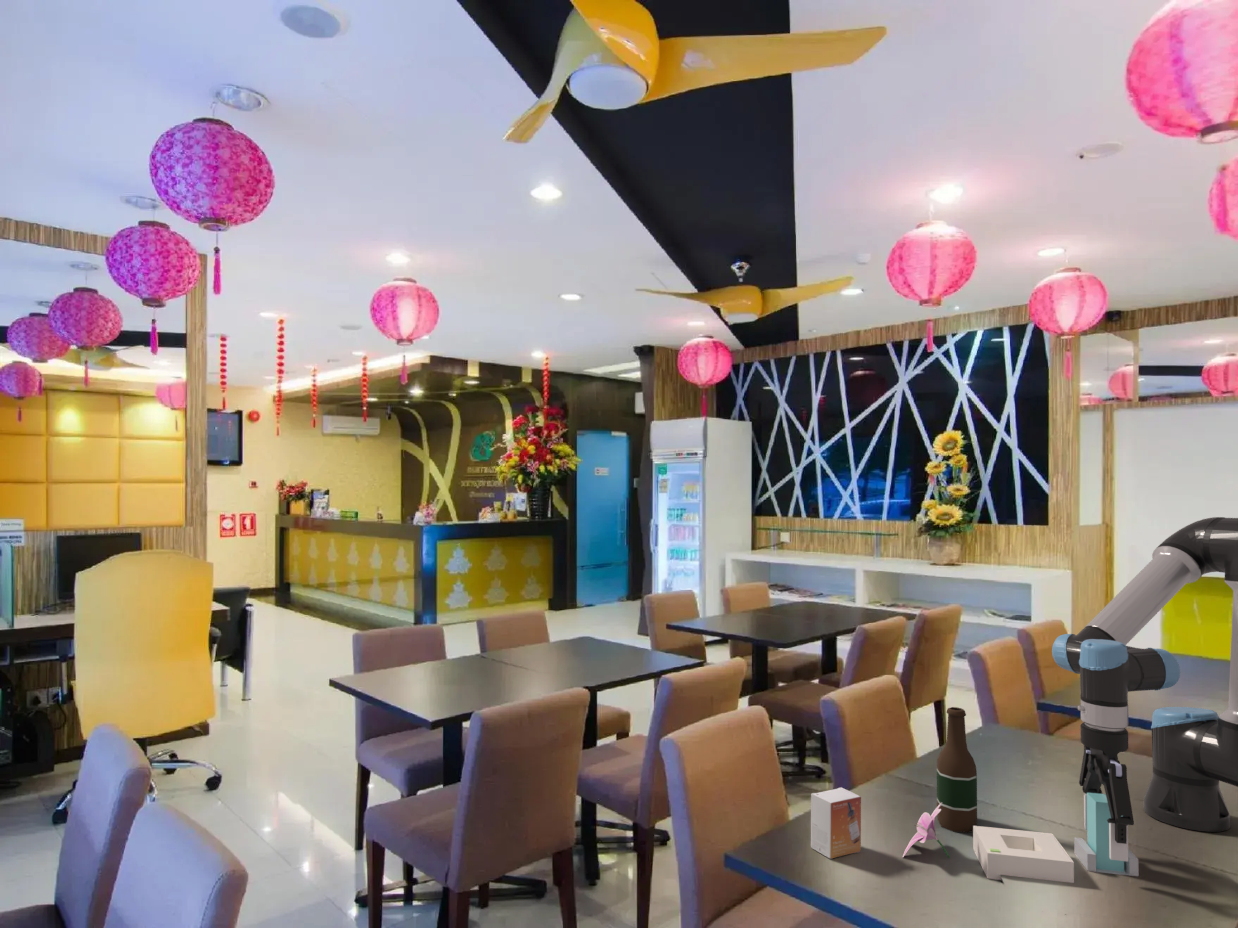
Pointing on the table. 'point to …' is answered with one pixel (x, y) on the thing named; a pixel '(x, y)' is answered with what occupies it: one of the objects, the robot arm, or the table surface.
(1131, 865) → the holster
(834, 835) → the small box
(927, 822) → the lily
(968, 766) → the beer bottle
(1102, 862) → the plug
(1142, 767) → the table surface
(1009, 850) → the port
